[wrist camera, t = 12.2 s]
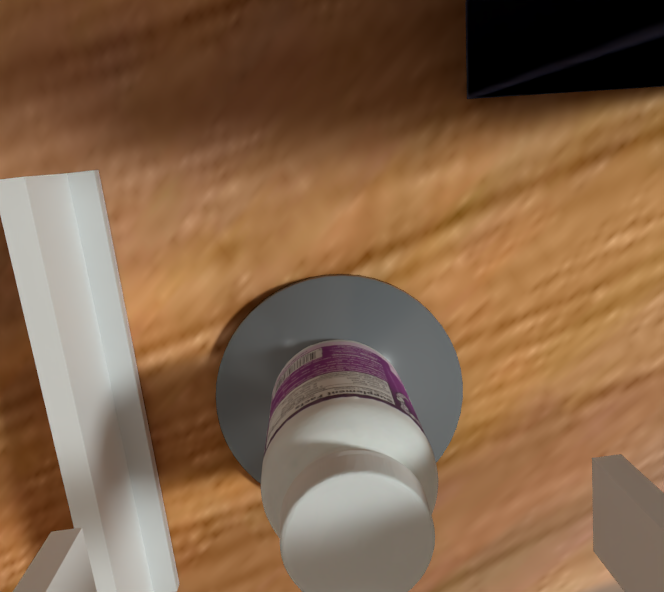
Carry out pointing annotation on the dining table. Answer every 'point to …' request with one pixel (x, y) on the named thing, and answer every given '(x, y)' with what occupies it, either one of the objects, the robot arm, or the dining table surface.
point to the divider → (89, 376)
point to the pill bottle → (348, 473)
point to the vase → (562, 46)
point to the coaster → (332, 324)
